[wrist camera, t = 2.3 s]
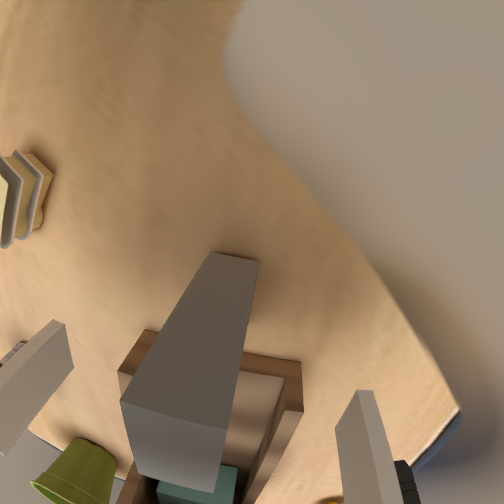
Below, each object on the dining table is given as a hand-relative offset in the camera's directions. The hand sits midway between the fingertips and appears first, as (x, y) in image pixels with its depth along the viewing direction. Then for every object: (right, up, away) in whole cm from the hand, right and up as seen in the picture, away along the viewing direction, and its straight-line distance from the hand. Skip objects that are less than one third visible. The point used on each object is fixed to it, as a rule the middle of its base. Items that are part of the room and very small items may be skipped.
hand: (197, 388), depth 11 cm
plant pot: (-20, -23, +19) cm, 36 cm away
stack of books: (-16, +10, +7) cm, 20 cm away
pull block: (-1, -7, +11) cm, 14 cm away
